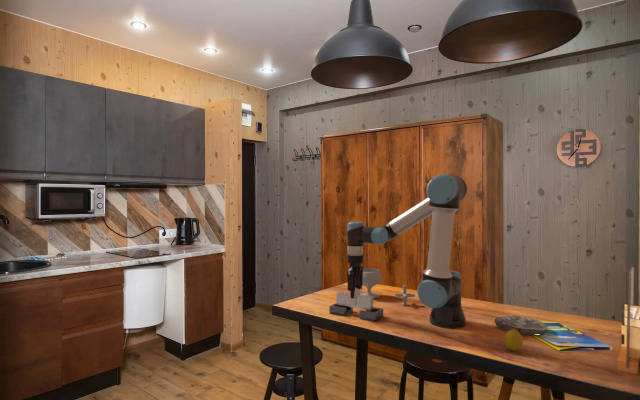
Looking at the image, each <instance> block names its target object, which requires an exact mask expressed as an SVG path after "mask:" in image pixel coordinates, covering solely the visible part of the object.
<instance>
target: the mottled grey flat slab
mask: <svg viewBox="0 0 640 400" xmlns="http://www.w3.org/2000/svg"><path fill="white" fill-rule="evenodd" d="M494 323H495V325H496V326H497V328H499V329H500V330H502V329H503V330H504V331H506V330H507V331H506V332H508V331H509V330H512V329H515V330H516V331H518V332H519V333H520V334H521V335H524V336H526V335H527V336H528V335H529V336H532V335H531V334H542V335H544V333H545V332H547V329H548V327H549V325H548V324H546V323H544V322H542V321H541V320H538V319H536V318H532V317H527V316H524V317H522V316H519V315H505V316H499V317H495V318H494ZM503 330H502V331H503Z"/></svg>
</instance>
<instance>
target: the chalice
mask: <svg viewBox="0 0 640 400" xmlns="http://www.w3.org/2000/svg"><path fill="white" fill-rule="evenodd" d="M381 281H382V273H381V270H380V269H378V268H374V267H373V268H372V267H371V268H370V267H366V268H365V267H364V268H363V286H364V287H365V288H366V289H367V291H366V292H363V293H360V295H365V296H372V297H374V299H378V298H380V297H381V296H380V294H379V293H375V292H372V288H374V286H377V285H378V284H380V283H381Z"/></svg>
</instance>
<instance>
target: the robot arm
mask: <svg viewBox="0 0 640 400" xmlns="http://www.w3.org/2000/svg"><path fill="white" fill-rule="evenodd" d="M467 193H468V185H467V183H466V181H465V180H464V179H463V178H462V177H460V176H458V175H454V174H446V173H443V174H437V175H435V176H433V177H432V178H431V179H430V180H429V181H428V183H427V186H426V195H427V197H426V198H424V199H422V200H421V201H420V202H418V203H417V204H415V205H413V206H412V207H411V208H409V209H407V210H406V211H405V212H402V213H401V214H399V215H398V216H397V217H395V218H393V219H392V220H390V221H389V222H387V223H386V224H384V225H380V226H365V225H364V222H362V221H350V222H348V223H347V230H346V232H347V233H346V234H347V247H346V249H347V256H346V257H347V259H346V261H347V263H348V264H349V269H346V275H347V276H346V278H347V282H346V283H347V291H349V293H350V304H351V305H356V294H359V295H360V294H361V290H362V289H363V286H364V285H363V268H365V266H364V265H363V266H362V264H363V263H364V244H374V245H375V244H376V245H384V244H386V243H387V242H392V241H393V240H395V239H396V238H397V237H398V236H400V234H402V233H404V232H405V231H407V230H409V229H411V228H412V227H414V226H416V225H417V224H419V223H420V222H422V221H424V220H426V219H427V218H429V217H430V216H431V224H430V233H429V245H428V252H427V253H428V255H427V265H426V266H427V267H426V268H425V269H424V270H423V271H422V278H421V282H420V283H419V285H418V286H417V288H416V289H417V290H416V292H417V297H418V299H419V301H420V302H421V304H423V305H424V306H425V307H428V308H430V309H431V311H430V314H429V323H431V324H432V326H433V325H434V326H436V327H440V328H447V329H458V328H463V327H465V326H466V325H467V324H466V322H467V319H466V315H465V313H464V310H463V307H462V275H461V273H460V272H459V271H457V270H450V264H451V253H452V252H451V251H452V243H453V234H454V233H453V232H454V222H455V213H456V212H457V211H459V210H460V202H461V201H462V200H464V198H465V197H466V195H467Z"/></svg>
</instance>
